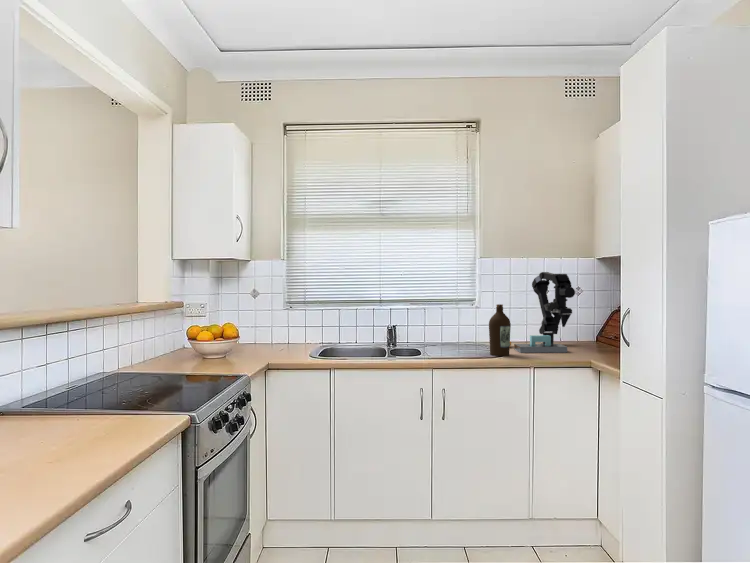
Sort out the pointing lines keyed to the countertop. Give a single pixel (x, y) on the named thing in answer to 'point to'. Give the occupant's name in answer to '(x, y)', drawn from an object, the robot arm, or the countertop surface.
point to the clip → (540, 339)
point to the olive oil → (499, 333)
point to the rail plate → (540, 348)
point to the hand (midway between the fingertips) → (560, 326)
